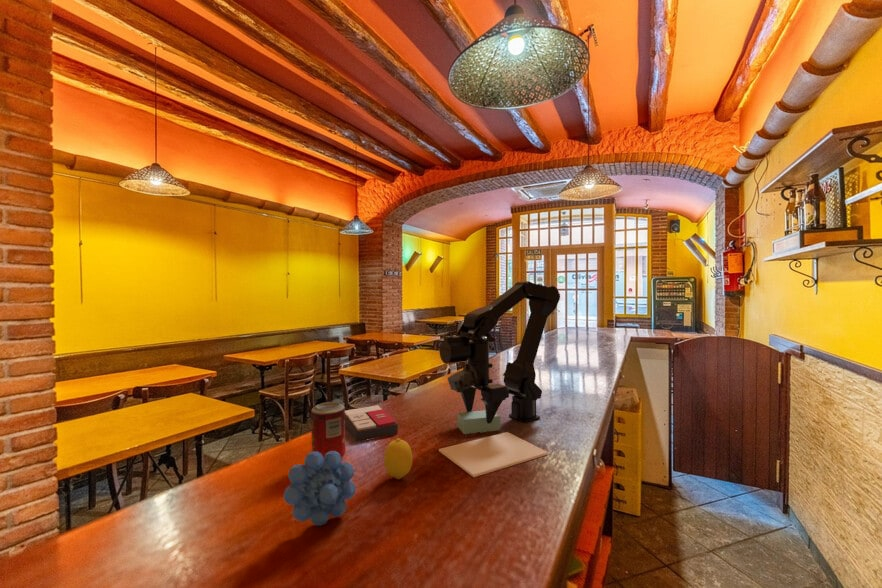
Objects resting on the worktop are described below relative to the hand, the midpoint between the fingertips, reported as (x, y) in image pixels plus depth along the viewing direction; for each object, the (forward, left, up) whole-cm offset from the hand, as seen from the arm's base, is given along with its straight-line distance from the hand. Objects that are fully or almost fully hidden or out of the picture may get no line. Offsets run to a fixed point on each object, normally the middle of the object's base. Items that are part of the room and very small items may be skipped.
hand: (478, 418), depth 101 cm
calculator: (+25, -15, -3) cm, 30 cm away
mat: (+6, +14, -3) cm, 16 cm away
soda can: (+39, -1, -3) cm, 39 cm away
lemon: (+29, +14, -3) cm, 32 cm away
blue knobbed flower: (+45, +22, -3) cm, 50 cm away
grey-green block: (0, 0, -3) cm, 3 cm away
